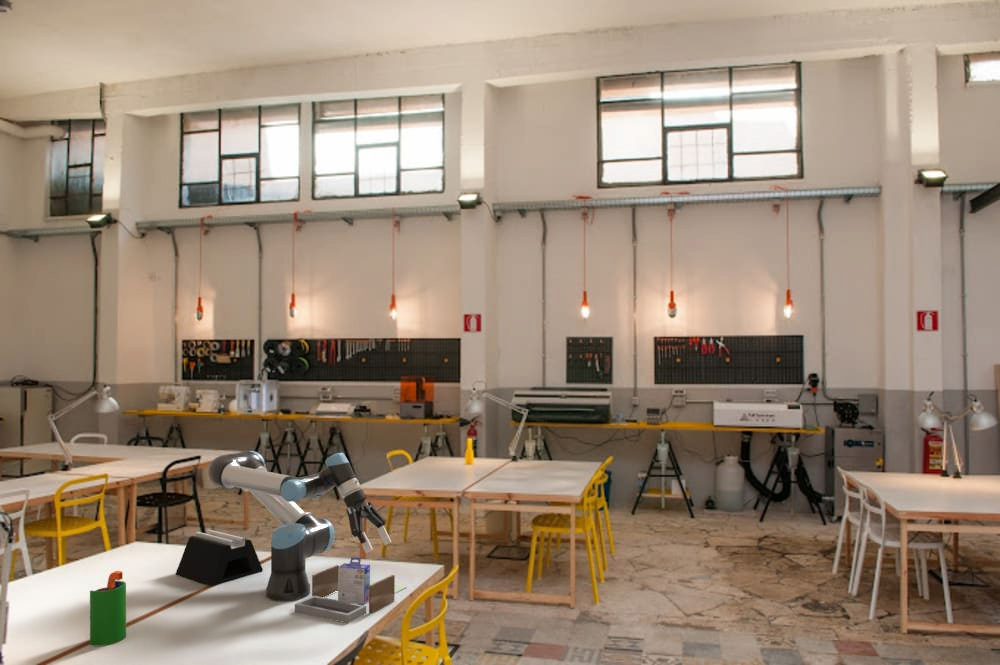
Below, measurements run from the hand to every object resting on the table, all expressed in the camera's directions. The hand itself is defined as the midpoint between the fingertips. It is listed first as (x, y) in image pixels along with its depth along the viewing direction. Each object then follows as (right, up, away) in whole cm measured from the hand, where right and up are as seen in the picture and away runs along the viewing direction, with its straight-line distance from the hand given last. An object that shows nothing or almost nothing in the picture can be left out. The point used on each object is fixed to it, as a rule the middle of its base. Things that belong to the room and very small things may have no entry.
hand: (379, 547), depth 262 cm
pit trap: (-13, -16, -18) cm, 28 cm away
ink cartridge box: (-7, -17, -7) cm, 20 cm away
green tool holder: (-74, -16, -41) cm, 86 cm away
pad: (-1, -17, +6) cm, 18 cm away
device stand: (-65, -17, +23) cm, 71 cm away
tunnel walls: (-8, -16, -7) cm, 20 cm away
